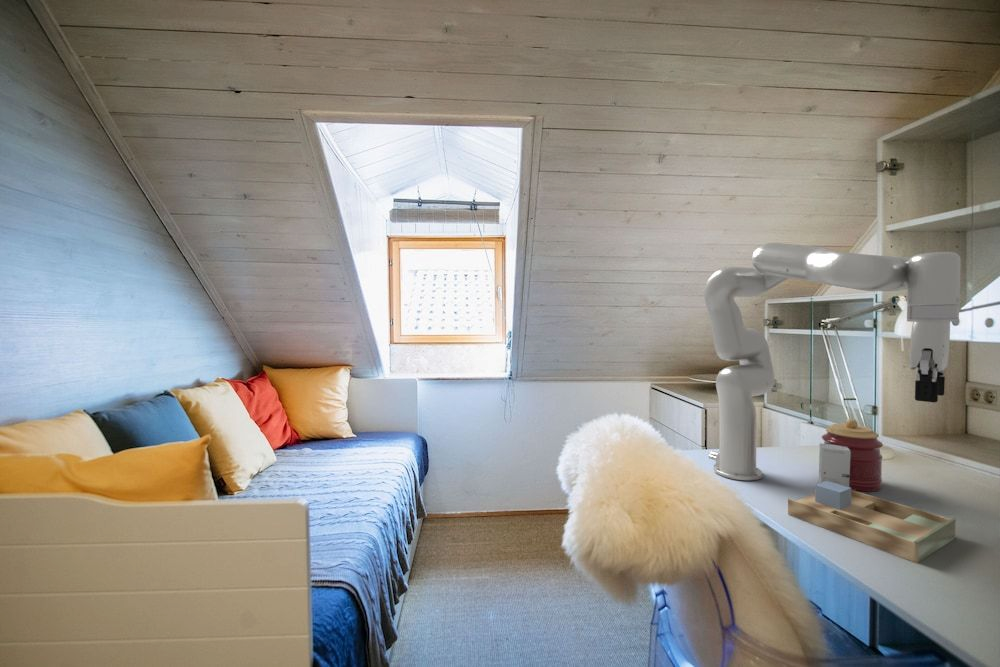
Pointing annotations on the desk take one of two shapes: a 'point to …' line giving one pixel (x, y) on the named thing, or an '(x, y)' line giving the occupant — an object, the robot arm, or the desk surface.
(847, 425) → the canister
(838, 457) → the skincare box
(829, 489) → the block
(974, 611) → the desk surface
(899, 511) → the box
